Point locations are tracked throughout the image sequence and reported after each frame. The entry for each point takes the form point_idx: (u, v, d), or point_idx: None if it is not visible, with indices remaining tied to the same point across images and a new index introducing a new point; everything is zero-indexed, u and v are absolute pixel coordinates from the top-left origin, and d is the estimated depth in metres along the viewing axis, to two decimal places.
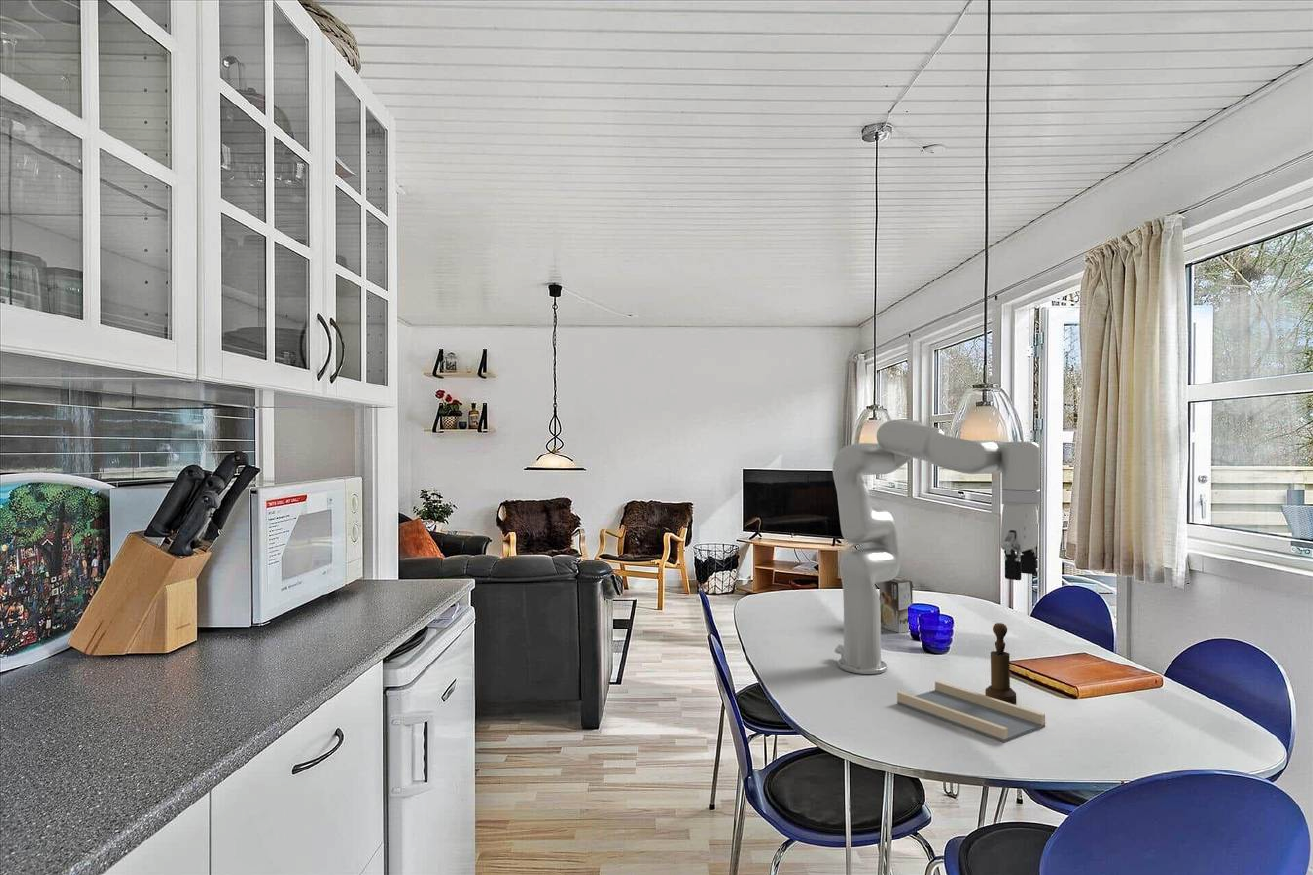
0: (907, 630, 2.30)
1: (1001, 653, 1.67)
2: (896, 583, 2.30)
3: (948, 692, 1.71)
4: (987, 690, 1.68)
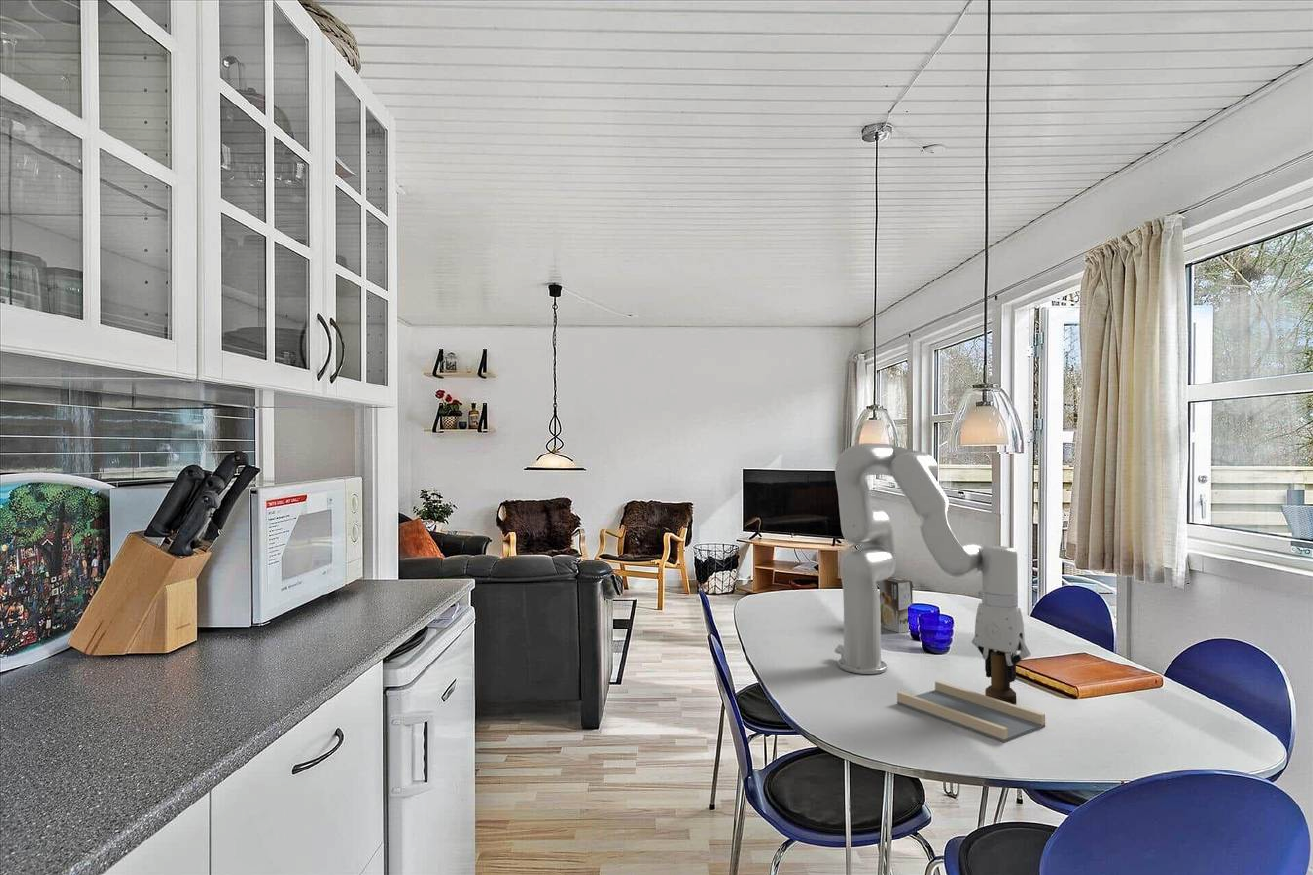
0: (907, 630, 2.30)
1: (1001, 653, 1.67)
2: (896, 583, 2.30)
3: (948, 692, 1.71)
4: (987, 690, 1.68)
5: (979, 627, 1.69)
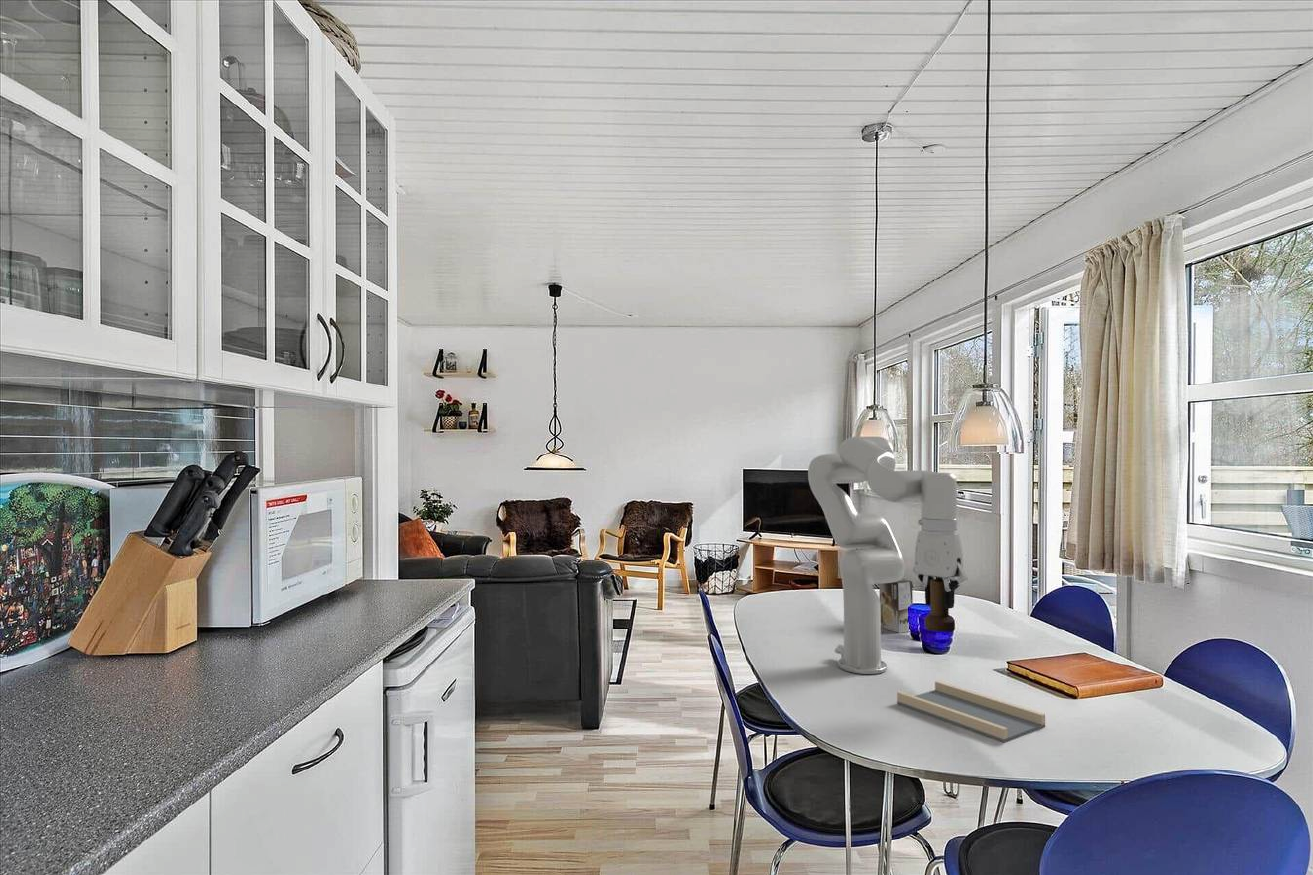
0: (907, 630, 2.30)
1: (940, 580, 1.65)
2: (896, 583, 2.30)
3: (948, 692, 1.71)
4: (926, 617, 1.66)
5: (919, 555, 1.67)
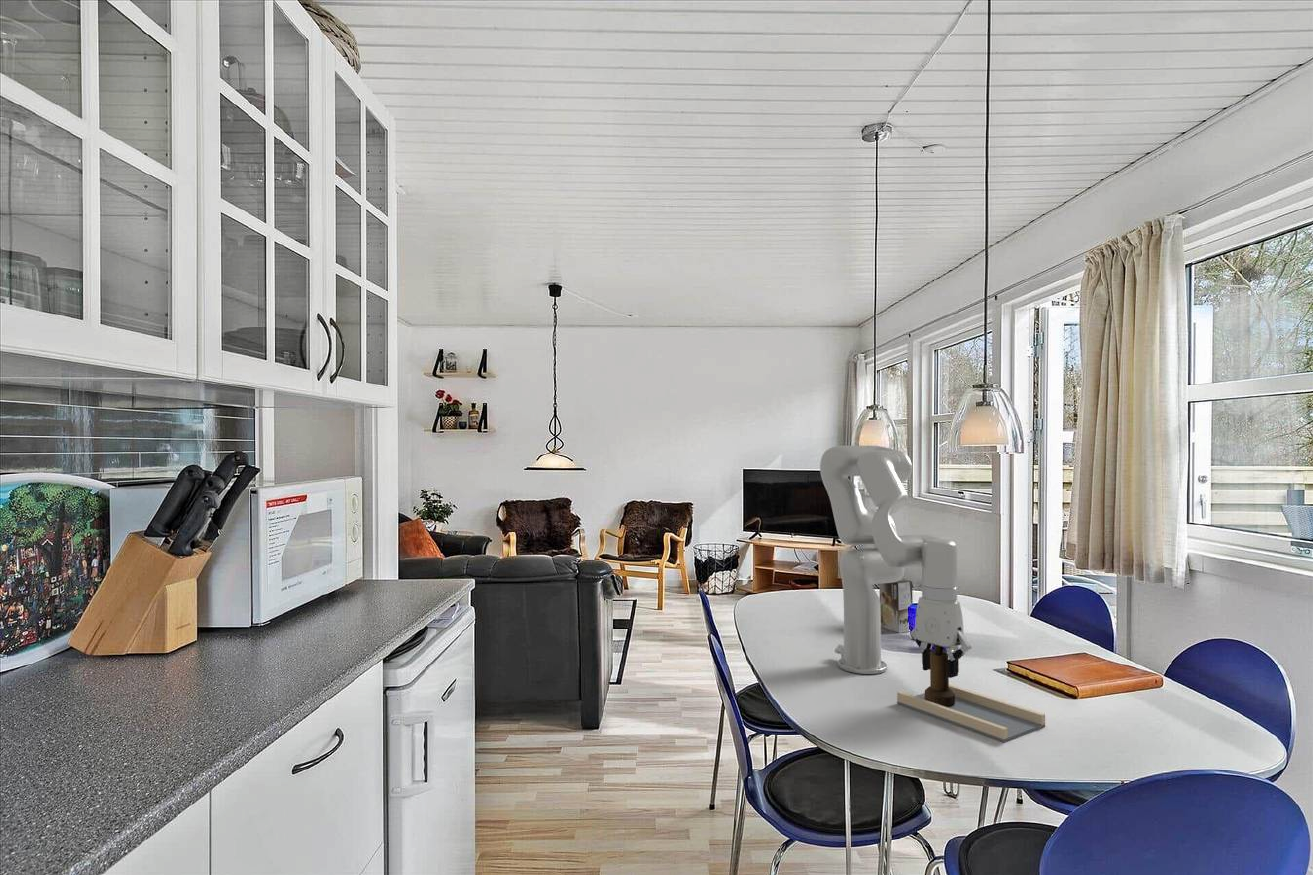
0: (907, 630, 2.30)
1: (940, 653, 1.65)
2: (896, 583, 2.30)
3: None
4: (926, 691, 1.66)
5: (919, 622, 1.67)
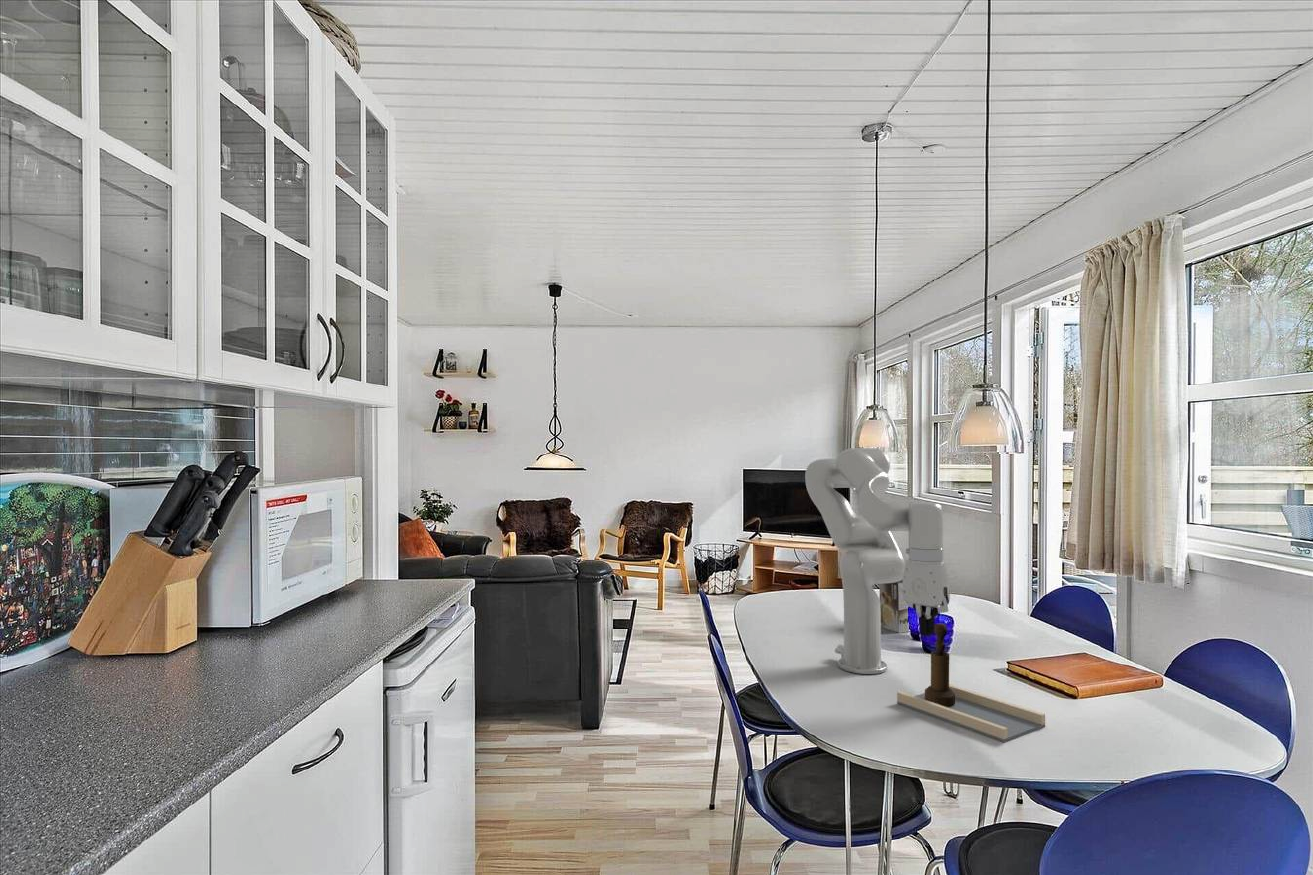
0: (907, 630, 2.30)
1: (941, 653, 1.65)
2: (896, 583, 2.30)
3: None
4: (926, 690, 1.66)
5: (906, 583, 1.70)
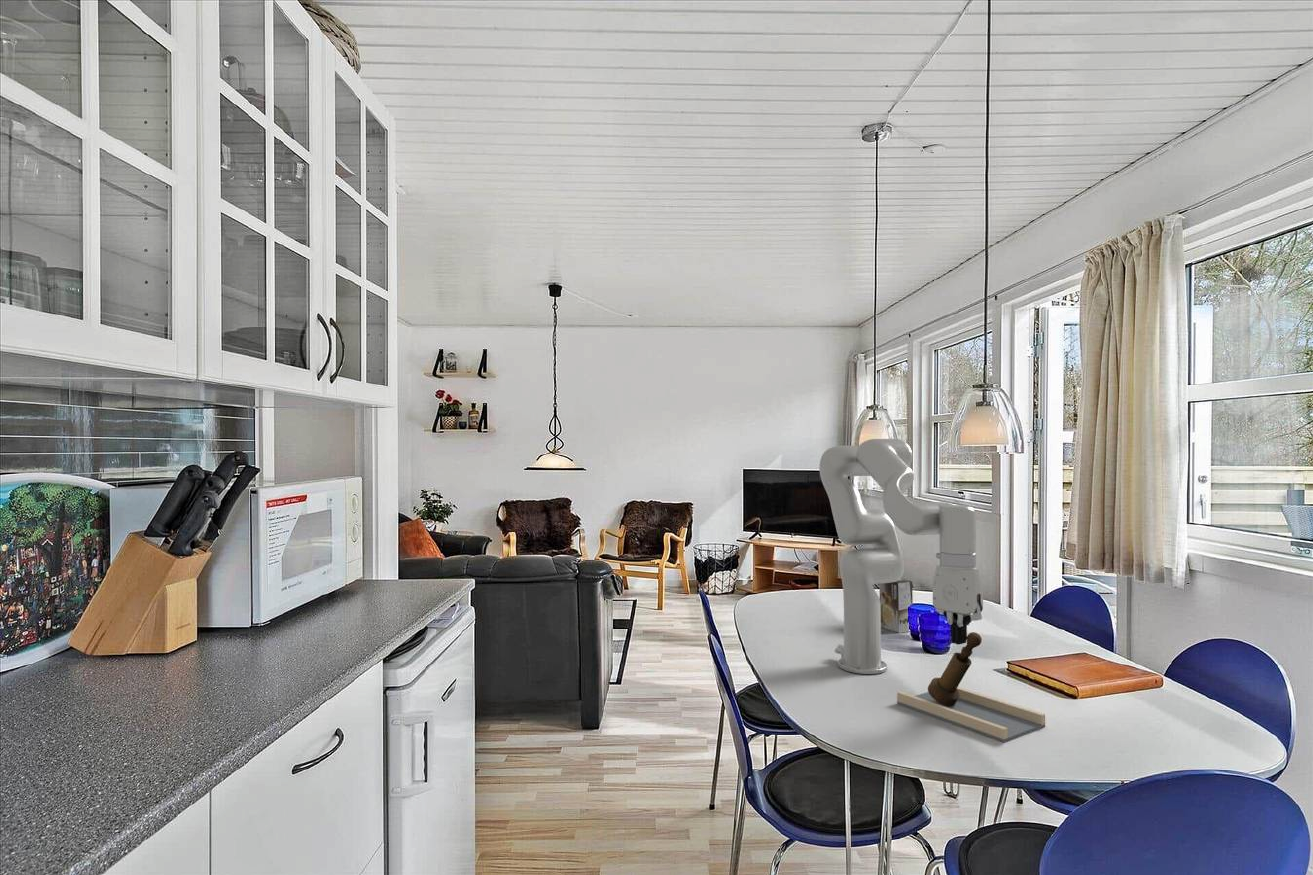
0: (907, 630, 2.30)
1: (964, 659, 1.60)
2: (896, 583, 2.30)
3: None
4: (933, 683, 1.64)
5: (937, 589, 1.63)
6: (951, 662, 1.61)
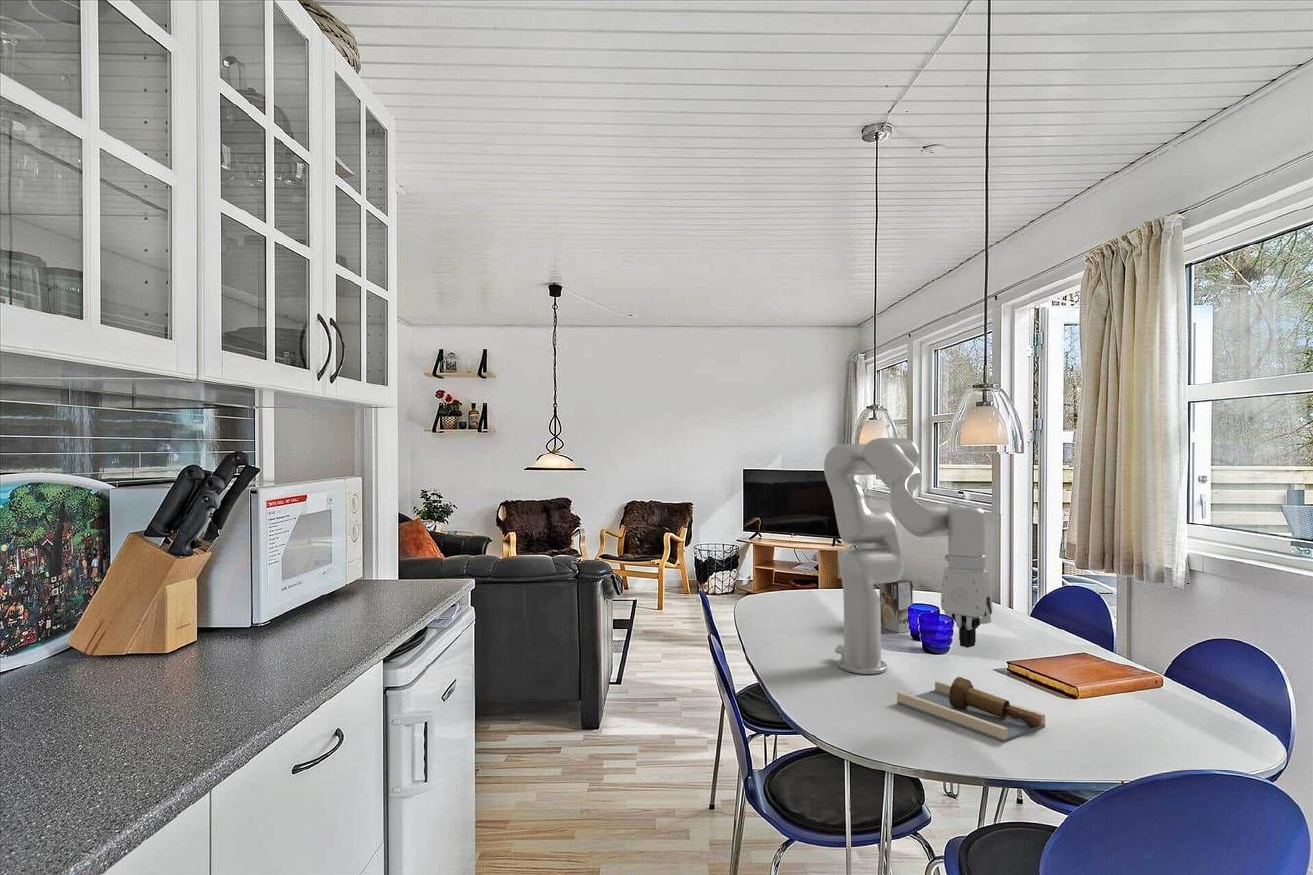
0: (907, 630, 2.30)
1: (1005, 712, 1.54)
2: (896, 583, 2.30)
3: (948, 692, 1.71)
4: (963, 686, 1.60)
5: (945, 592, 1.61)
6: (995, 702, 1.55)
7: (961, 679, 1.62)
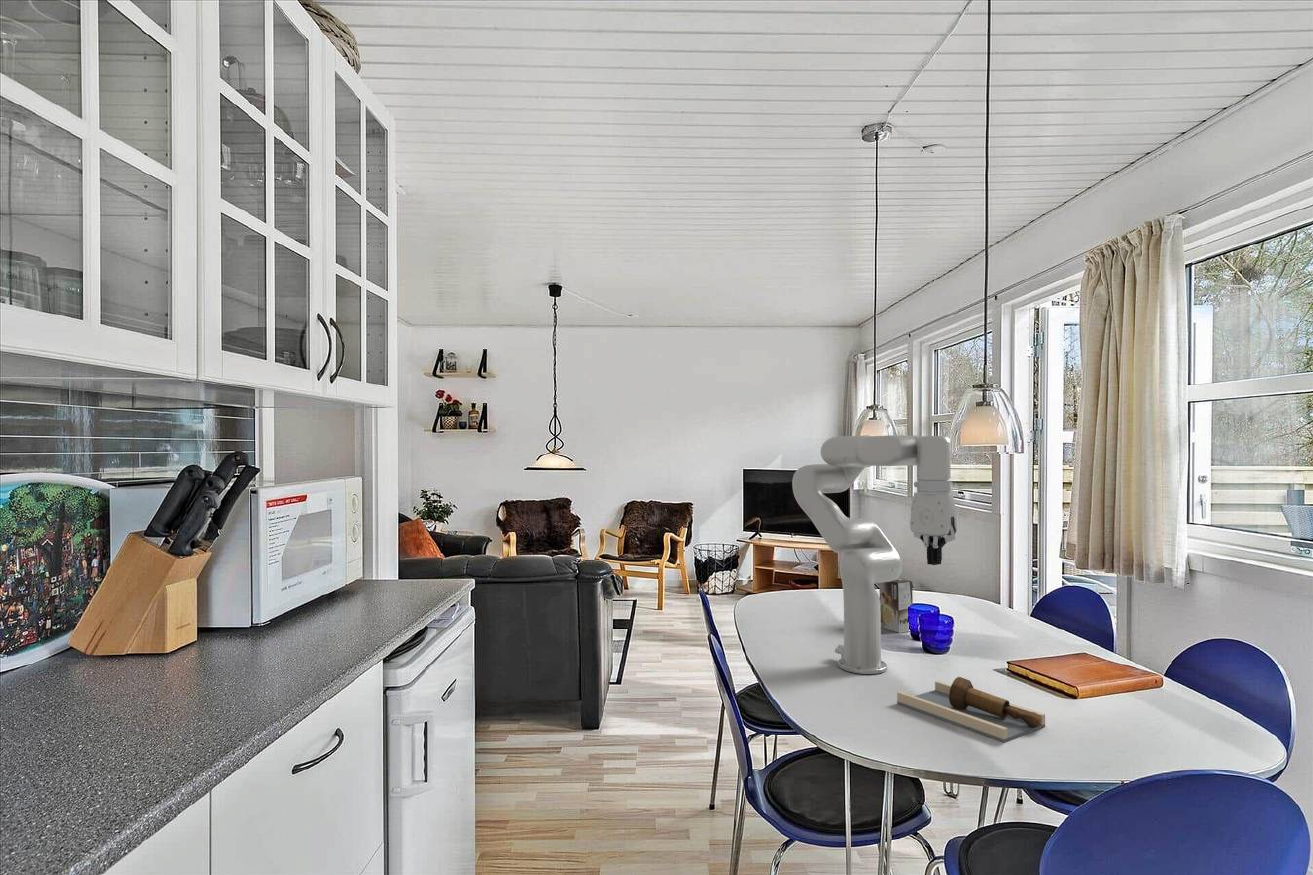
0: (907, 630, 2.30)
1: (1005, 712, 1.54)
2: (896, 583, 2.30)
3: (948, 692, 1.71)
4: (963, 686, 1.60)
5: (914, 515, 1.74)
6: (995, 702, 1.55)
7: (961, 679, 1.62)
